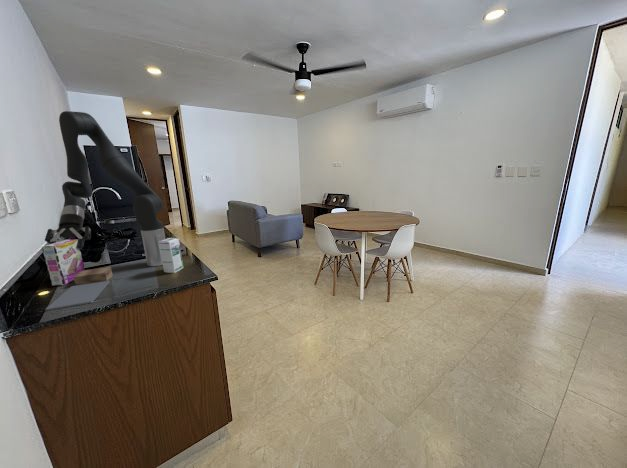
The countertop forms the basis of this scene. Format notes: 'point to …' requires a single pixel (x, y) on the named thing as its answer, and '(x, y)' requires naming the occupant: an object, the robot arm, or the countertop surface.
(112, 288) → the countertop surface
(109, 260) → the countertop surface
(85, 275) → the walnut step
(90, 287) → the mat
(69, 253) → the candy bar box
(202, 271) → the countertop surface
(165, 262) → the syrup box
